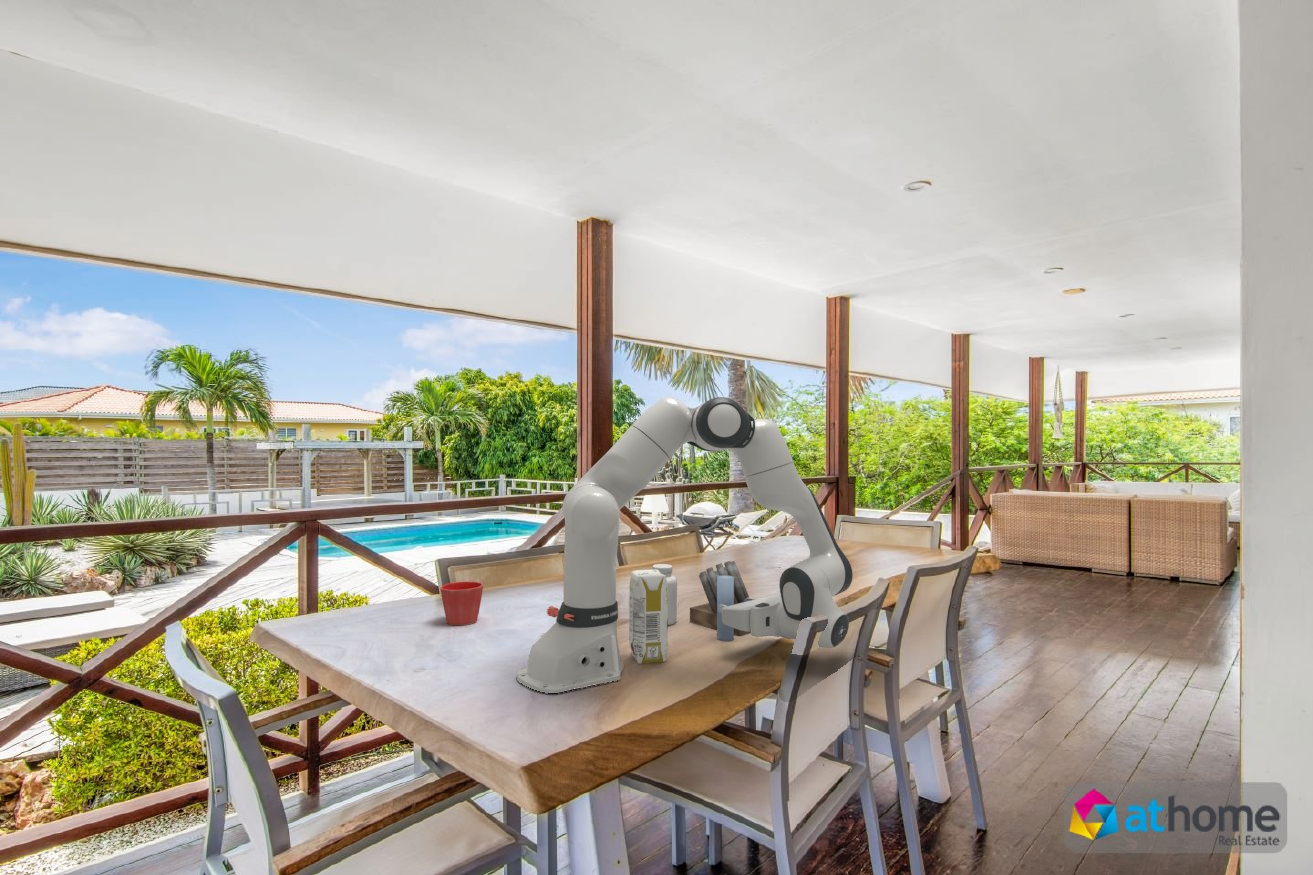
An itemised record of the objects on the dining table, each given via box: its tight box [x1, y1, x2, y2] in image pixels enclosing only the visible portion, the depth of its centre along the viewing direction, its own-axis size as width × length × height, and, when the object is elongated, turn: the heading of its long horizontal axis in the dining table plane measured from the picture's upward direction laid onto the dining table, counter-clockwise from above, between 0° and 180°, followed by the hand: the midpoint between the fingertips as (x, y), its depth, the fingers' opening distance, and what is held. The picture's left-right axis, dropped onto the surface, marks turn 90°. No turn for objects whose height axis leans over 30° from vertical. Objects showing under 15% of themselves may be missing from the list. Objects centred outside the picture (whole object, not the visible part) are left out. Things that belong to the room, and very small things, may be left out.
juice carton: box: [628, 569, 669, 665], centre depth 149 cm, size 8×9×19 cm
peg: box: [716, 575, 735, 642], centre depth 163 cm, size 4×4×15 cm
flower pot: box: [439, 581, 484, 626], centre depth 177 cm, size 11×11×10 cm
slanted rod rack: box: [689, 560, 751, 637], centre depth 175 cm, size 17×11×18 cm, turn 43°
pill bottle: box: [651, 563, 678, 626], centre depth 177 cm, size 8×8×15 cm
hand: (733, 604), depth 161 cm, fingers open, 8 cm apart
